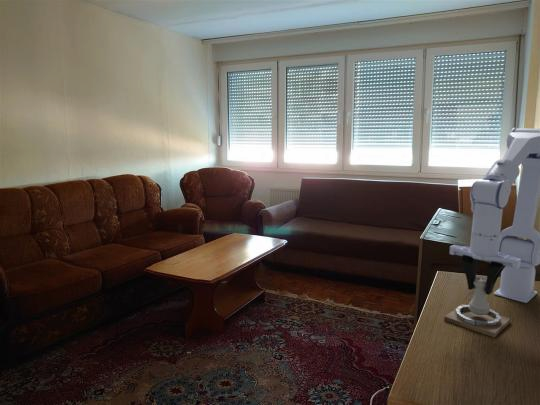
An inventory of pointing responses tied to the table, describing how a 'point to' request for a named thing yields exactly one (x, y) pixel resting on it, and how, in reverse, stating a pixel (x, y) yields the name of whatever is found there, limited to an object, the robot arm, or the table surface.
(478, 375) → the table surface
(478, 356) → the table surface
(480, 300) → the rook chess piece
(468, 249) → the robot arm
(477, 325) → the socket board
